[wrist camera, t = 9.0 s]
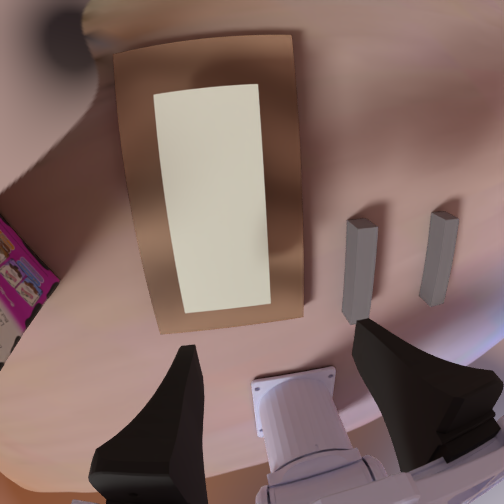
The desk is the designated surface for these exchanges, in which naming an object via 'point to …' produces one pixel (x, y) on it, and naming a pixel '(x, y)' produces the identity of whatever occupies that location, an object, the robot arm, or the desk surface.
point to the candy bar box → (19, 288)
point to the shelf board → (215, 195)
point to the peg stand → (274, 162)
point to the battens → (364, 258)
